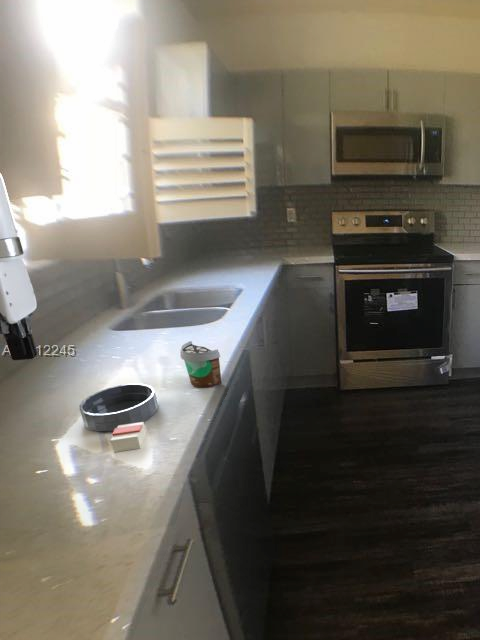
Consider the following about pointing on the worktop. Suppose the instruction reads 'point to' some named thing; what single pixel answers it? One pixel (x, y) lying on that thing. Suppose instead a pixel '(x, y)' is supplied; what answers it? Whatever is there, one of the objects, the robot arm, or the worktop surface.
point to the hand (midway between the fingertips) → (25, 357)
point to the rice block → (128, 436)
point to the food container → (201, 365)
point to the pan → (118, 406)
